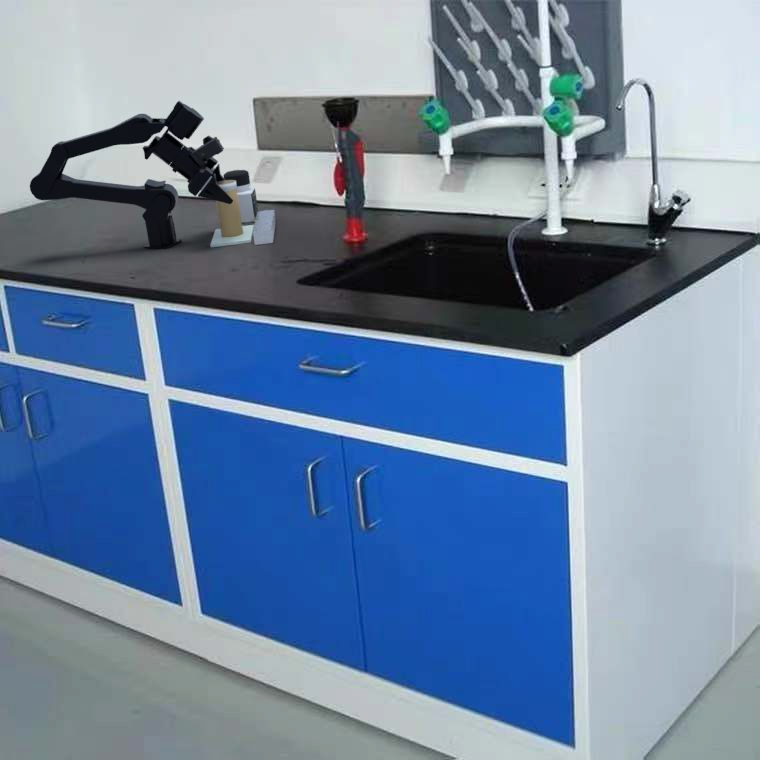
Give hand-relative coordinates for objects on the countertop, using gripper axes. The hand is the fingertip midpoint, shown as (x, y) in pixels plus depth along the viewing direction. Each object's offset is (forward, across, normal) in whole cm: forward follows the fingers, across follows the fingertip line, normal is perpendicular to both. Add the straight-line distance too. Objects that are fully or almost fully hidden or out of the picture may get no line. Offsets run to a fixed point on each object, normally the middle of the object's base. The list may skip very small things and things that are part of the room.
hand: (233, 198), depth 286 cm
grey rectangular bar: (+11, +1, +2) cm, 11 cm away
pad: (+5, 0, +7) cm, 9 cm away
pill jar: (+5, 0, +7) cm, 8 cm away
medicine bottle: (+6, +18, +6) cm, 20 cm away
